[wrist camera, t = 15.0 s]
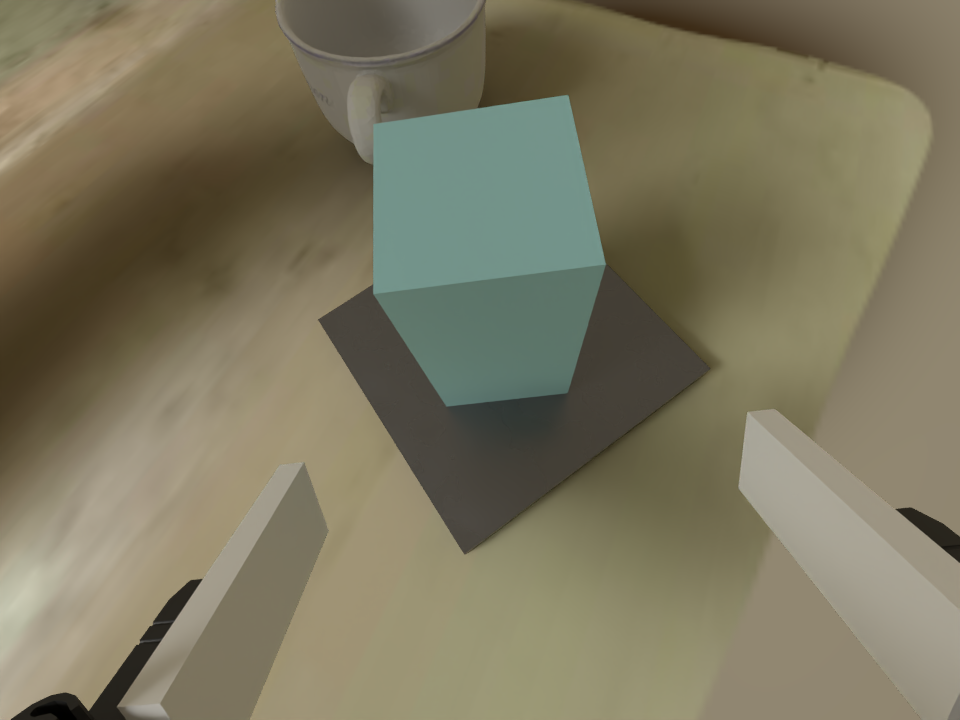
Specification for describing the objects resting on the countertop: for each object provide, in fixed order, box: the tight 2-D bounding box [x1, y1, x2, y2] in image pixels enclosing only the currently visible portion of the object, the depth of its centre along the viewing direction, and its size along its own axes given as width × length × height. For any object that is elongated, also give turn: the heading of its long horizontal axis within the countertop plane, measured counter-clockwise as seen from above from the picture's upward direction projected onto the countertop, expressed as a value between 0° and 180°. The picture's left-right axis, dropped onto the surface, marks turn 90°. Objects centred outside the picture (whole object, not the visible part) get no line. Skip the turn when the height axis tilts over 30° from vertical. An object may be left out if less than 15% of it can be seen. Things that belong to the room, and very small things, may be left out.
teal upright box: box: [373, 95, 606, 407], centre depth 17 cm, size 6×6×11 cm
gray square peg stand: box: [319, 264, 710, 554], centre depth 19 cm, size 14×14×9 cm
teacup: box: [275, 0, 486, 165], centre depth 26 cm, size 14×11×8 cm
